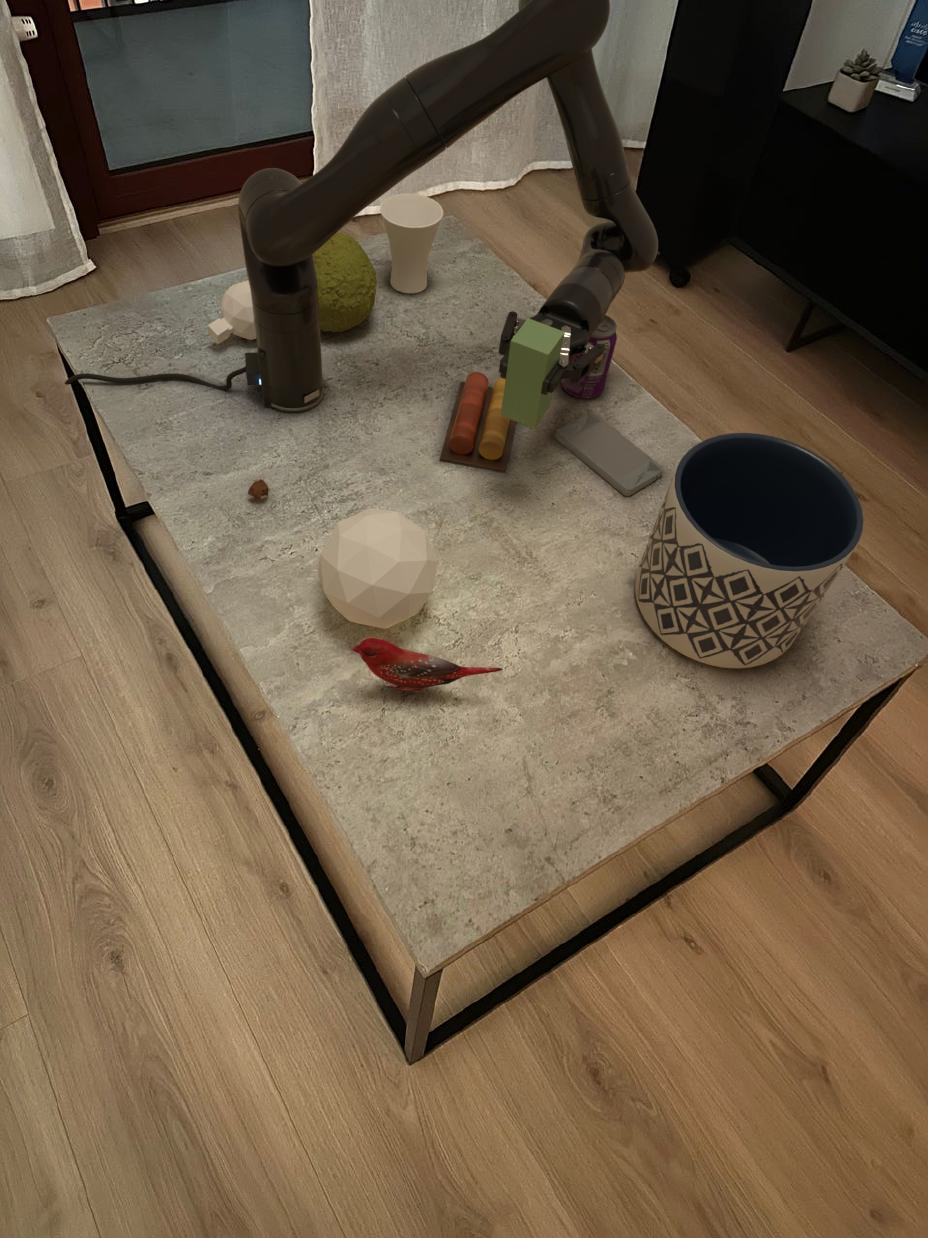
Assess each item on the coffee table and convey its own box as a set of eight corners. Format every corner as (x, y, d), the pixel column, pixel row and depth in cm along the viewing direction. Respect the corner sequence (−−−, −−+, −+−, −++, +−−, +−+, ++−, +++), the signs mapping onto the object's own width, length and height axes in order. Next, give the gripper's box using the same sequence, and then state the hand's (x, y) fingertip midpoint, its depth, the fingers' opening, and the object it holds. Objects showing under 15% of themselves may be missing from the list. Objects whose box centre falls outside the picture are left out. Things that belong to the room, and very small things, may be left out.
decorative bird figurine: (352, 676, 109) (351, 628, 101) (497, 686, 110) (507, 640, 102) (350, 696, 108) (348, 649, 99) (497, 707, 108) (507, 661, 100)
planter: (763, 702, 112) (830, 603, 96) (604, 617, 118) (642, 511, 102) (820, 588, 124) (888, 483, 108) (673, 516, 130) (717, 407, 114)
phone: (590, 416, 142) (591, 410, 140) (664, 475, 135) (666, 469, 134) (552, 436, 138) (554, 430, 137) (627, 498, 131) (629, 492, 130)
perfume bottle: (252, 295, 150) (195, 332, 145) (253, 258, 141) (192, 295, 137) (288, 331, 149) (232, 369, 144) (291, 296, 140) (231, 335, 136)
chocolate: (254, 507, 124) (251, 487, 121) (246, 497, 125) (243, 477, 122) (273, 499, 125) (271, 479, 122) (266, 489, 126) (263, 469, 123)
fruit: (262, 319, 149) (268, 220, 143) (332, 321, 159) (340, 229, 153) (320, 338, 139) (328, 233, 133) (391, 340, 149) (402, 242, 143)
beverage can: (609, 382, 147) (625, 319, 137) (594, 407, 143) (610, 344, 133) (569, 368, 148) (582, 304, 139) (553, 392, 144) (566, 328, 135)
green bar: (534, 429, 117) (548, 354, 107) (500, 415, 118) (510, 340, 108) (550, 406, 119) (565, 331, 109) (516, 393, 120) (527, 317, 110)
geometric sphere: (378, 602, 123) (412, 499, 118) (436, 653, 112) (476, 542, 108) (284, 593, 113) (318, 481, 109) (338, 647, 103) (378, 525, 98)
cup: (372, 294, 156) (373, 220, 145) (386, 261, 162) (387, 188, 151) (432, 305, 155) (437, 231, 145) (443, 271, 162) (448, 199, 151)
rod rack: (506, 473, 132) (509, 451, 129) (439, 460, 133) (441, 439, 129) (522, 395, 143) (525, 374, 140) (460, 384, 143) (462, 362, 140)
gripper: (531, 265, 119) (474, 336, 110) (632, 301, 116) (582, 377, 107) (524, 313, 125) (469, 384, 116) (619, 349, 122) (571, 424, 113)
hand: (524, 380), depth 111 cm, fingers closed on green bar, 5 cm apart
